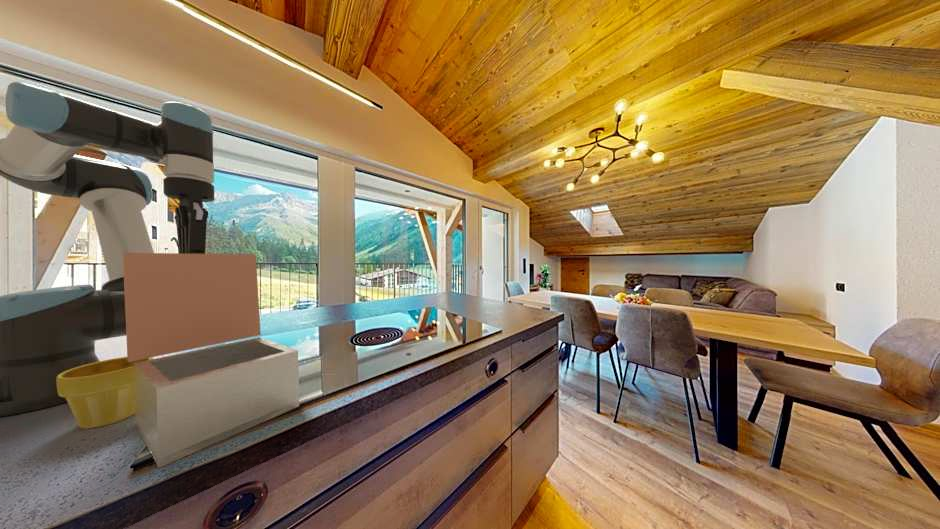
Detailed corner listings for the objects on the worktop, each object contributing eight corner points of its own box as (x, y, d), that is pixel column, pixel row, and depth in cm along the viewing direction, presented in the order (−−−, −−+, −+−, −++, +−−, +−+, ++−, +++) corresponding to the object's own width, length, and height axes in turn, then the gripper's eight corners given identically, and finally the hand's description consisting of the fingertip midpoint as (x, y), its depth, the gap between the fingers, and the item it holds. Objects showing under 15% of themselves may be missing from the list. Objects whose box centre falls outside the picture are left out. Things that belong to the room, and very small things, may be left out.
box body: (135, 426, 46) (133, 363, 46) (260, 384, 61) (259, 337, 61) (158, 468, 36) (156, 389, 36) (299, 406, 52) (298, 350, 52)
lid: (128, 361, 46) (125, 359, 48) (260, 335, 62) (254, 334, 64) (123, 252, 46) (120, 255, 48) (255, 254, 62) (249, 256, 64)
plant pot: (83, 440, 42) (81, 379, 42) (41, 432, 44) (39, 374, 44) (168, 405, 52) (167, 356, 52) (131, 400, 55) (130, 353, 54)
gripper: (156, 181, 57) (159, 290, 58) (171, 169, 50) (175, 292, 51) (204, 189, 64) (207, 286, 64) (223, 179, 57) (226, 289, 57)
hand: (193, 289), depth 57 cm, fingers closed
